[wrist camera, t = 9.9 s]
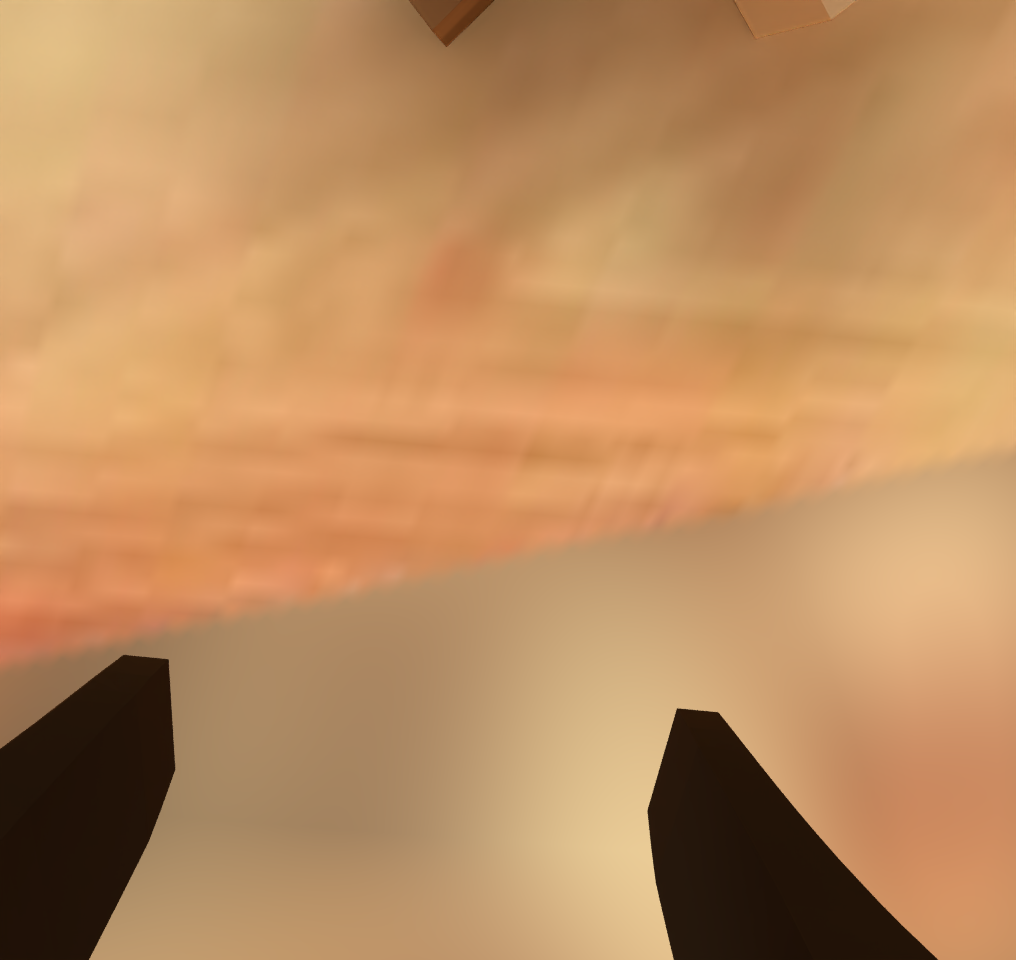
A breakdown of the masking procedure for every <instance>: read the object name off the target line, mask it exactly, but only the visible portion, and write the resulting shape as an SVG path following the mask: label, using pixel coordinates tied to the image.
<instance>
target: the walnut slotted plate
mask: <svg viewBox="0 0 1016 960" xmlns="http://www.w3.org/2000/svg"><path fill="white" fill-rule="evenodd" d="M409 1H410V2H411V4H412V5H413V6H414V8H415V9H416V10H417V12H418V13H419V14H420V15H421V17H422V18H423V19H424V21H425V22H426V23H427V25H428V26H429V27H430V29H431V30H432V31H433V32H434V33H435V34H436V36H437V37H438V38H439V39H440V40H441V41H442V42H443V43H444V45H445V46H446V47H447V46H448V45H449V44H450V43H451V42H452V41H453V40H454V39H455V38H456V37H457V36H458V35H459V34H460V33H461V32H462V31H463V30H464V29H465V28H466V27H467V26H469V25H470V24H471V23H472V22H473V21H474V20H475V19H476V18H477V17H478V16H479V15H480V14H481V13H482V12H483V11H484V10H485V9H486V8H487V7H488V6H489V5H490V4H491V3H492V2H493V1H494V0H409Z"/></svg>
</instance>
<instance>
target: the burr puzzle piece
mask: <svg viewBox="0 0 1016 960" xmlns="http://www.w3.org/2000/svg"><path fill="white" fill-rule="evenodd" d="M734 1H735V3H736V5H737V7H738V9H739V10H740V12H741V14H742V16H743V18H744V19H745V21H746V23H747V25H748V26H749V28H750V30H751V32H752V34H753V35H754V37H755V39H756V38H760V37H765V36H769V35H773V34H777V33H781V32H785V31H789V30H793V29H797V28H801V27H805V26H809V25H813V24H817V23H821V22H826V21H830V20H832V19H833V18H835V17H836V16H837V15H838V14H840V13H841V12H842V11H844V10H845V9H846V8H847V7H849V6H850V5H851V4H852V3H854V2H855V1H856V0H734Z"/></svg>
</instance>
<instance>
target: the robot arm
mask: <svg viewBox="0 0 1016 960" xmlns="http://www.w3.org/2000/svg"><path fill="white" fill-rule="evenodd" d="M173 743H174V742H173V725H172V710H171V693H170V677H169V660H168V659H160V658H149V657H139V656H129V655H123V656H122V657H120V658H119V659H118V660H116V661H115V662H114V663H112V664H111V665H110V666H108V667H107V668H105V669H104V670H103V671H101V672H100V673H99V674H98V675H96V676H95V677H94V678H92V679H91V680H90V681H88V682H87V683H86V684H85V685H83V686H82V687H81V688H79V689H78V690H77V691H76V692H74V693H73V694H72V695H70V697H68V698H67V699H65V700H64V701H63V702H62V703H60V704H59V705H58V706H56V707H55V708H54V709H53V710H51V711H50V712H49V713H47V714H46V715H45V716H43V717H42V718H41V719H39V720H38V721H37V722H36V723H35V724H33V725H32V726H30V727H29V728H28V729H26V730H25V731H24V732H22V733H21V734H19V735H18V736H17V737H15V738H14V739H13V740H11V741H10V742H9V743H7V744H6V745H5V746H4V747H2V748H1V749H0V960H89V958H90V956H91V954H92V953H93V951H94V949H95V947H96V945H97V943H98V941H99V939H100V937H101V935H102V933H103V931H104V929H105V927H106V925H107V923H108V921H109V919H110V917H111V915H112V913H113V911H114V910H115V908H116V906H117V904H118V902H119V899H120V898H121V896H122V894H123V891H124V890H125V888H126V886H127V884H128V882H129V880H130V878H131V876H132V874H133V872H134V870H135V868H136V866H137V864H138V862H139V860H140V858H141V856H142V854H143V852H144V850H145V848H146V846H147V844H148V842H149V839H150V837H151V834H152V831H153V829H154V826H155V824H156V821H157V819H158V815H159V813H160V811H161V808H162V805H163V802H164V800H165V797H166V794H167V791H168V788H169V785H170V783H171V780H172V777H173V774H174V772H175V760H174V759H175V758H174V744H173ZM648 820H649V830H650V839H651V849H652V857H653V864H654V872H655V879H656V885H657V890H658V894H659V898H660V903H661V907H662V912H663V916H664V920H665V924H666V929H667V933H668V937H669V941H670V946H671V950H672V954H673V958H674V960H938V959H937V958H936V957H935V956H934V955H933V954H932V953H930V952H929V951H928V950H927V949H926V948H925V947H924V946H923V945H922V944H921V943H920V942H919V941H918V940H917V939H916V938H915V937H914V936H912V934H911V933H909V932H908V931H907V930H906V929H905V928H904V927H903V926H902V925H901V924H900V923H899V922H898V921H897V920H896V919H895V918H894V917H893V916H892V915H891V914H890V913H889V912H888V911H887V910H886V909H885V908H884V907H883V906H882V905H881V904H880V903H879V902H878V901H877V899H876V898H875V897H874V896H873V895H872V894H871V893H870V892H869V891H868V890H867V889H866V888H865V887H864V886H863V884H861V882H859V880H858V879H857V878H856V877H855V876H854V875H853V874H852V873H851V872H850V870H849V869H848V868H847V867H846V866H845V865H844V864H843V863H842V862H841V861H840V860H839V859H838V857H837V856H836V855H835V854H834V853H833V852H832V851H831V850H830V848H829V847H828V846H827V845H826V844H825V843H824V842H823V840H822V839H821V838H820V837H819V836H818V835H817V834H816V832H815V831H814V830H813V829H812V828H811V827H810V825H809V824H808V823H807V822H806V821H805V820H804V818H803V817H802V816H801V815H800V814H799V812H798V811H797V810H796V809H795V808H794V806H793V805H792V804H791V803H790V802H789V800H788V799H787V798H786V797H785V795H784V794H783V793H782V792H781V791H780V789H779V788H778V787H777V786H776V784H775V783H774V782H773V781H772V779H771V778H770V777H769V776H768V774H767V773H766V772H765V771H764V769H763V768H762V767H761V766H760V764H759V763H758V762H757V761H756V759H755V758H754V757H753V756H752V754H751V753H750V752H749V750H748V749H747V748H746V747H745V745H744V744H743V743H742V742H741V740H740V739H739V738H738V737H737V735H736V734H735V733H734V731H733V730H732V729H731V728H730V726H729V725H728V724H727V723H726V721H725V720H724V719H723V718H722V716H721V715H720V714H719V713H718V712H709V711H698V710H688V709H677V710H676V714H675V717H674V721H673V724H672V728H671V731H670V735H669V738H668V742H667V745H666V749H665V752H664V755H663V759H662V762H661V766H660V769H659V773H658V776H657V780H656V783H655V786H654V790H653V794H652V797H651V801H650V804H649V807H648Z"/></svg>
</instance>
